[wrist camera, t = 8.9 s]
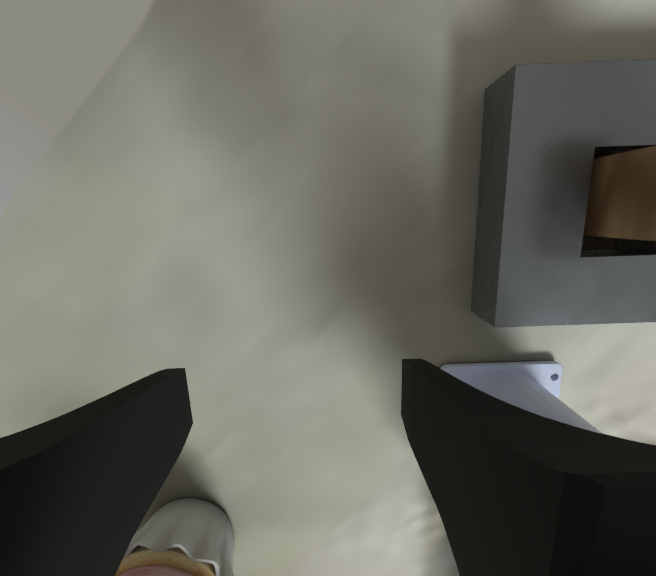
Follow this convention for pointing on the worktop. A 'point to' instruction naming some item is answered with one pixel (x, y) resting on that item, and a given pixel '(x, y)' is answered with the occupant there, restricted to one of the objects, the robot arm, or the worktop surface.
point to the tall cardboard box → (623, 196)
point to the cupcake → (182, 542)
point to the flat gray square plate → (559, 195)
